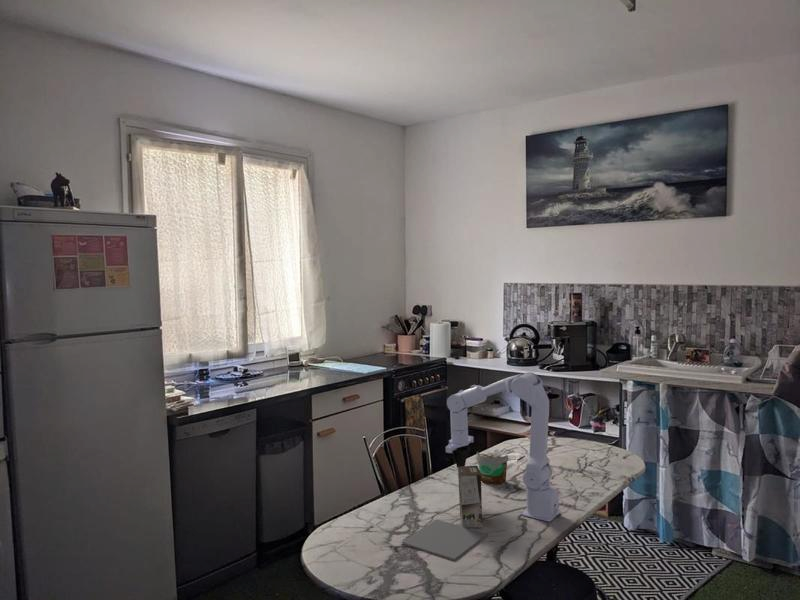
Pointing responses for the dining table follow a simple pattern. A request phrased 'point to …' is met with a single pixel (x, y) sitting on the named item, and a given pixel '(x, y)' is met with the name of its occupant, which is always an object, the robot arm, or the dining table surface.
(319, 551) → the dining table surface
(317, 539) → the dining table surface
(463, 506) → the coffee box
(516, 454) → the cloth
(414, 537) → the mat
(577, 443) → the dining table surface
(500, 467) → the food container
